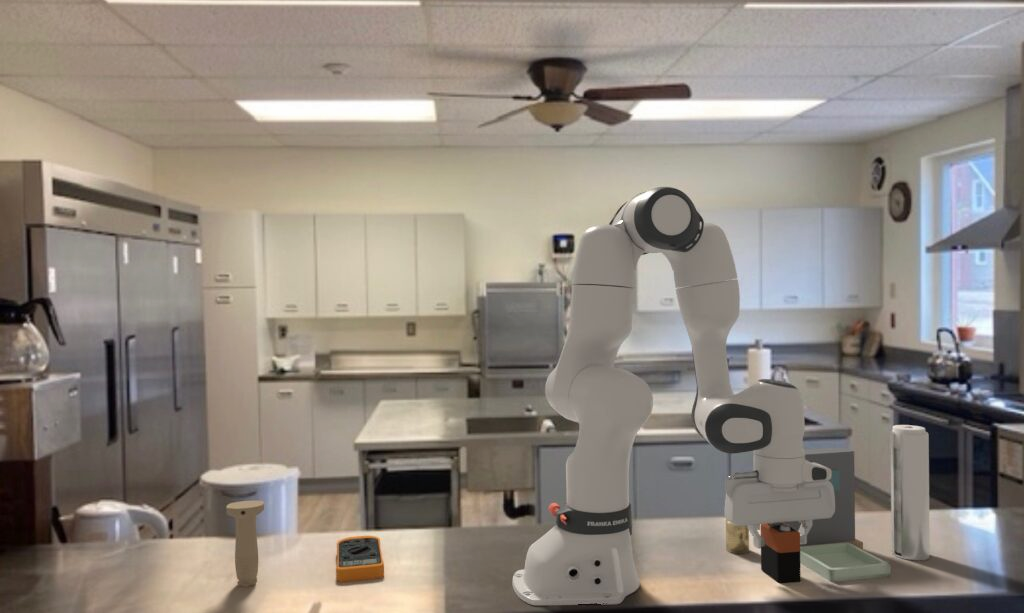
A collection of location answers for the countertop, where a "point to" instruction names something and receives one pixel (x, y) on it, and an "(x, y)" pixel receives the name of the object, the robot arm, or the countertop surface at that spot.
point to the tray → (843, 562)
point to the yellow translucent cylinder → (737, 538)
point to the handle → (246, 540)
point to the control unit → (843, 483)
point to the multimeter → (359, 559)
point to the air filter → (910, 492)
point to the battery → (781, 552)
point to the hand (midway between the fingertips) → (780, 545)
